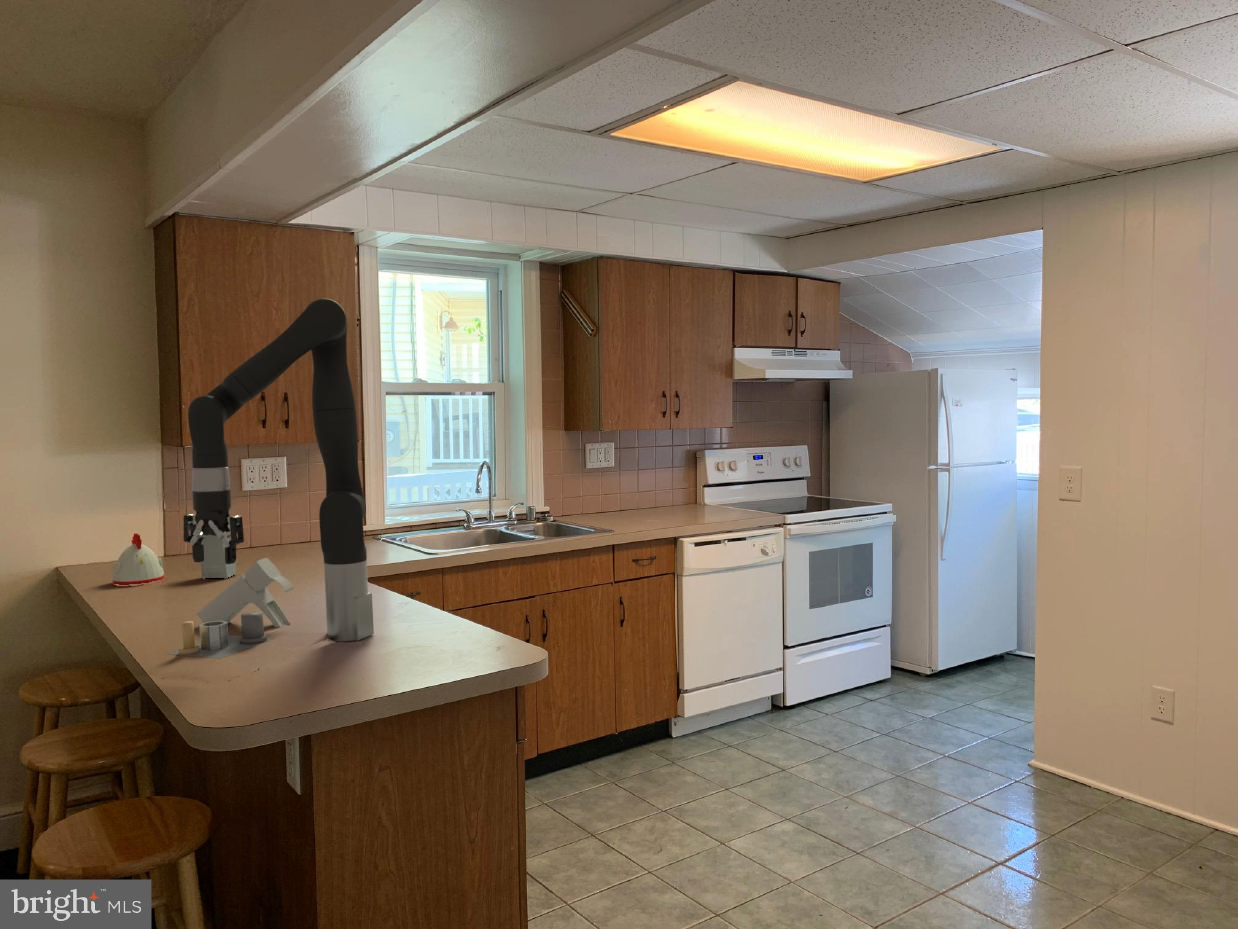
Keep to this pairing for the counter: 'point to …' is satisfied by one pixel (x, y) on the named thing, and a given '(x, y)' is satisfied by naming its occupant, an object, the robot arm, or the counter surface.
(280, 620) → the faucet
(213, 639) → the tube
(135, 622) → the counter surface
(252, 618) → the board
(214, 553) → the skincare box
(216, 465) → the robot arm
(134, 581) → the chicken hat
